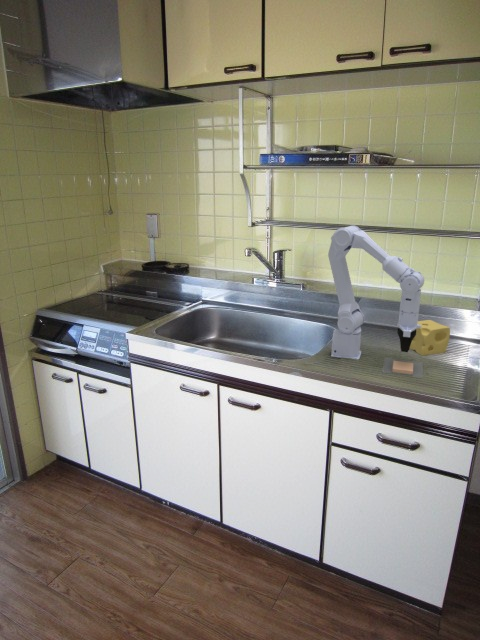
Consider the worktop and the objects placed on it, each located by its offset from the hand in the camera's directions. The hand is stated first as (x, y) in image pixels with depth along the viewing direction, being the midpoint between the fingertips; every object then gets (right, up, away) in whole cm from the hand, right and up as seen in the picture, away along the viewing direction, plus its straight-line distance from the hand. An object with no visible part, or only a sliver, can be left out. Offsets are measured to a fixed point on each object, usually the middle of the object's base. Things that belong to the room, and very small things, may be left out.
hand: (404, 351), depth 148 cm
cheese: (+13, -1, +16) cm, 21 cm away
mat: (-1, -6, 0) cm, 6 cm away
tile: (0, -4, +1) cm, 4 cm away
